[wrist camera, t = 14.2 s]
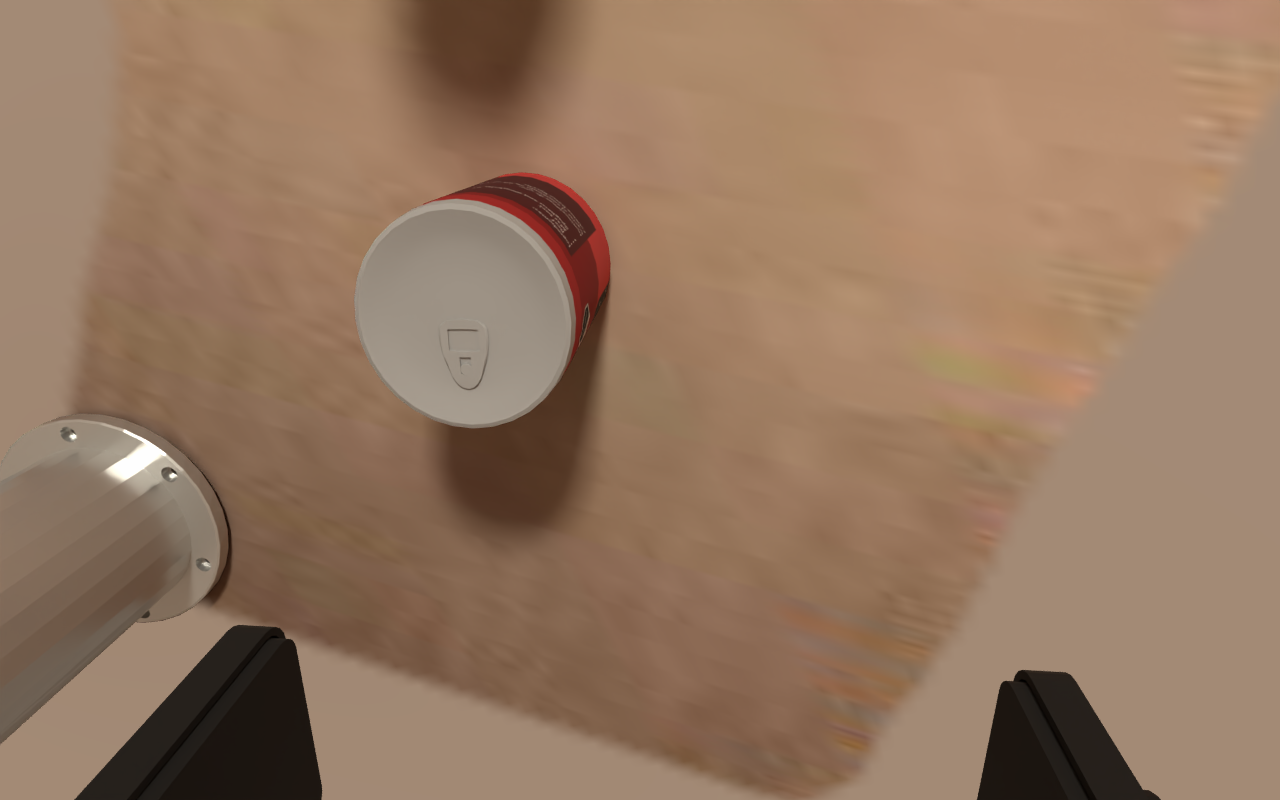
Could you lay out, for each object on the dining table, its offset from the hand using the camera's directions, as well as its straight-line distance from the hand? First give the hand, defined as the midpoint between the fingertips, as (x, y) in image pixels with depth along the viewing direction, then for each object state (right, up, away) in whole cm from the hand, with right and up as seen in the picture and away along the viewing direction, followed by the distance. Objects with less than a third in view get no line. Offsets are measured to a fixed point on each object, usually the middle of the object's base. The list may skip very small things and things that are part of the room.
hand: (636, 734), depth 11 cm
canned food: (-5, +11, +27) cm, 29 cm away
